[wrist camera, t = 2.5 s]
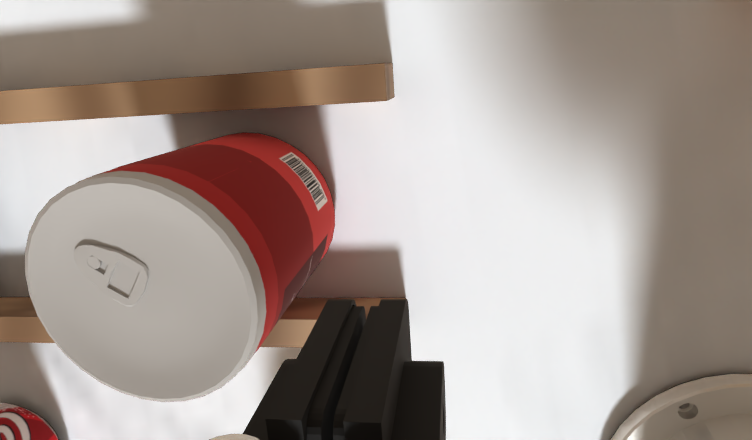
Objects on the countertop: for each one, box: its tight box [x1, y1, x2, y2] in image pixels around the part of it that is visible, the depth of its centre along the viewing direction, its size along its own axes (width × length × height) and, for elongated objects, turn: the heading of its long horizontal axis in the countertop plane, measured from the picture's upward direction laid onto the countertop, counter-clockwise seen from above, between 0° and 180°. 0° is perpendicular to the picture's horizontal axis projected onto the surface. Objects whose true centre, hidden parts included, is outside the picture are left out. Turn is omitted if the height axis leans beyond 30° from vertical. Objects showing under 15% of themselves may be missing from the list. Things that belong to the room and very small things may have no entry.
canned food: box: [25, 133, 335, 402], centre depth 22 cm, size 8×8×11 cm
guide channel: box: [0, 63, 406, 348], centre depth 26 cm, size 26×13×4 cm, turn 94°
